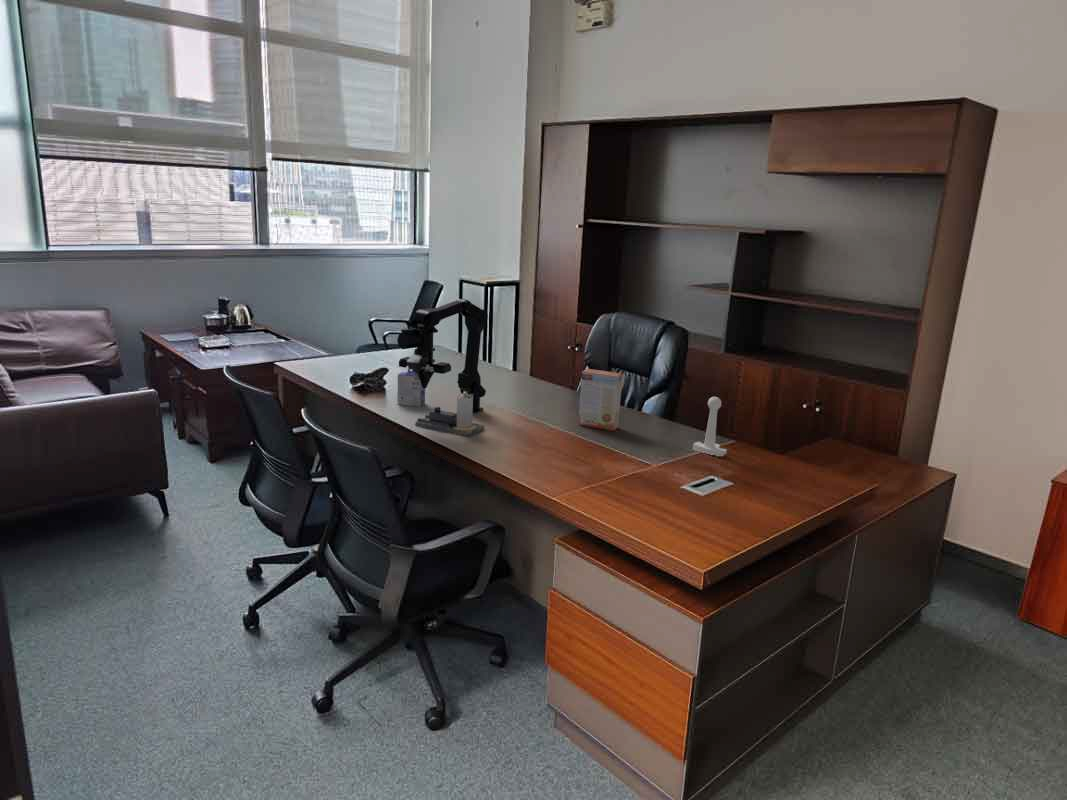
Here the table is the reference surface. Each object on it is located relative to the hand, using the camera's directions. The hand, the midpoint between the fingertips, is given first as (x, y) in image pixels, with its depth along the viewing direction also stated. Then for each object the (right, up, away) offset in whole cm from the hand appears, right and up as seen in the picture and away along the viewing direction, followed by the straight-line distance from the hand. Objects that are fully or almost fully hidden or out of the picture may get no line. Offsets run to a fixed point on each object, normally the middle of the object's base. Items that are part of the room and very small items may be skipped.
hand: (424, 388), depth 264 cm
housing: (+15, -13, -4) cm, 20 cm away
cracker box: (+63, -14, +10) cm, 66 cm away
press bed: (+9, -14, 0) cm, 17 cm away
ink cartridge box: (-9, -6, +26) cm, 28 cm away
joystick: (+100, -22, -12) cm, 103 cm away
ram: (+7, -12, -1) cm, 14 cm away
